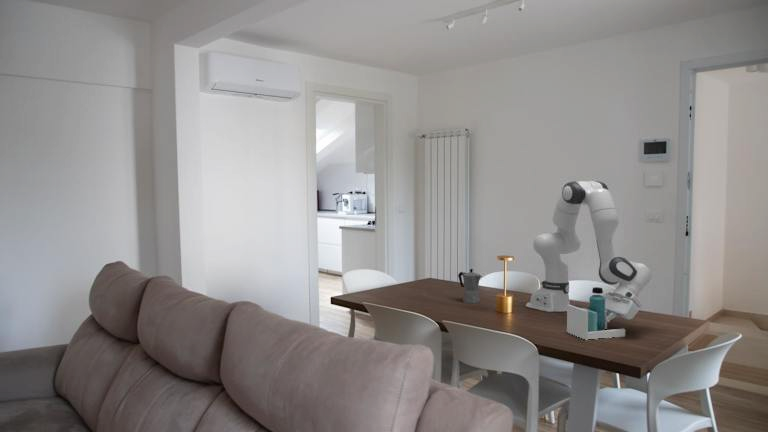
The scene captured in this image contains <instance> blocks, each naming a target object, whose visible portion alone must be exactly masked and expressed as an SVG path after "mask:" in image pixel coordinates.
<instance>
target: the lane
mask: <svg viewBox="0 0 768 432" xmlns="http://www.w3.org/2000/svg"><path fill="white" fill-rule="evenodd" d="M581 308H582V307H577V306H574V305H572V304H570V305H567V311H566V333H567V332H568V333H567V334H569V333H570V334H569V335H572V334H573V335H572V336H574V335H575V336H574V337H576V336H577V338H578V337H580V338H579V339H581V338H582V339H581V340H583V339H585V340H584V341H589V340H588V339H595V340H599V339H598V338H605V339H613V338H612V337H615V338H623V337H624V338H625V337H626V329H625V328H617V329H608V322H605V329H607V330H603V331H593V332H588V311H586V310H584V309H581Z"/></svg>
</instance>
